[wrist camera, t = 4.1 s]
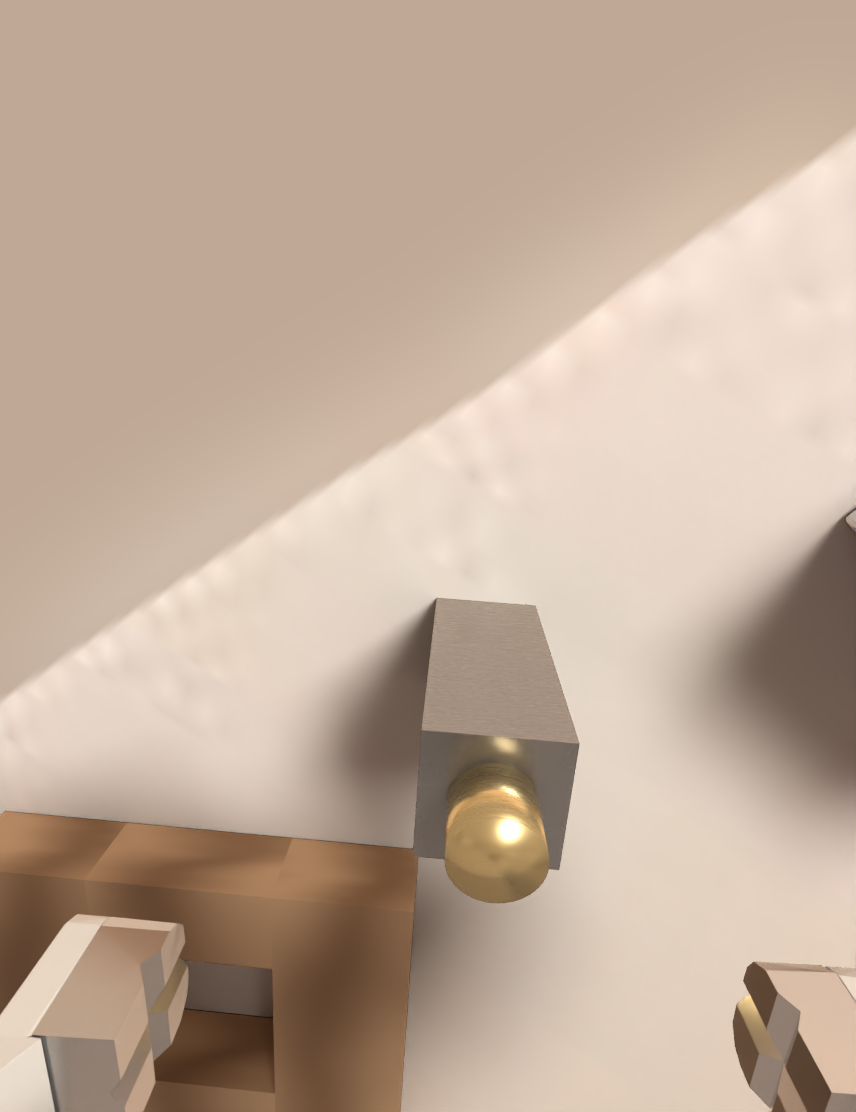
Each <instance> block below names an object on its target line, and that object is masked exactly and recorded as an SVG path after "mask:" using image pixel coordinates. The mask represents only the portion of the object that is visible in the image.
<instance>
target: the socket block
mask: <svg viewBox="0 0 856 1112" xmlns="http://www.w3.org/2000/svg"><path fill="white" fill-rule="evenodd" d="M417 869H418V857H416V856H413V849H404V848H393V847H382V846H371V845H361V844H350V843H339V842H329V841H318V840H307V839H296V838H286V837H275V836H264V835H253V834H243V833H232V832H221V831H211V830H200V829H189V828H178V827H168V826H157V825H146V824H135V823H125V822H114V821H103V820H93V819H82V818H71V817H60V816H50V815H39V814H28V813H17V812H7V811H5V812H4V813H3V814H2V815H1V816H0V1014H1V1013H2V1012H3V1010H4V1009H5V1007H6V1006H7V1005H8V1003H9V1002H10V1000H11V999H12V998H13V996H14V995H15V993H16V992H17V991H18V989H19V988H20V986H21V985H22V983H23V982H24V981H25V979H26V978H27V976H28V975H29V974H30V972H31V971H32V969H33V968H34V967H35V965H36V964H37V962H38V961H39V960H40V958H41V957H42V955H43V954H44V952H45V951H46V950H47V948H48V947H49V945H50V944H51V943H52V941H53V940H54V938H55V937H56V936H57V934H58V933H59V931H60V930H61V929H62V927H63V926H64V925H65V924H66V923H67V922H68V921H69V920H70V919H72V918H73V917H74V916H75V915H77V914H82V915H94V916H106V917H118V918H128V919H138V920H148V921H158V922H168V923H178V924H183V927H184V935H185V944H184V946H183V948H182V951H181V953H180V955H179V956H180V958H181V959H182V960H187V961H197V962H207V963H217V964H226V965H236V966H246V967H256V968H266V969H272V986H273V1018H264V1017H254V1016H245V1015H235V1014H225V1013H216V1012H206V1011H197V1010H187V1009H184V1010H183V1014H182V1018H181V1022H180V1024H179V1027H178V1029H177V1032H176V1034H175V1037H174V1039H173V1042H172V1044H171V1046H169V1047H168V1048H167V1049H166V1050H165V1051H164V1052H163V1053H162V1054H161V1055H160V1056H159V1057H157V1058H156V1059H155V1060H154V1061H153V1064H154V1073H155V1085H154V1087H153V1090H152V1092H151V1094H150V1097H149V1099H148V1101H147V1104H146V1106H145V1109H144V1111H143V1112H400V1109H401V1095H402V1081H403V1066H404V1052H405V1038H406V1024H407V1010H408V996H409V982H410V968H411V953H412V939H413V925H414V911H415V897H416V883H417Z"/></svg>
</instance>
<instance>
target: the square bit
mask: <svg viewBox="0 0 856 1112" xmlns="http://www.w3.org/2000/svg"><path fill="white" fill-rule="evenodd" d="M578 749H579V741H578V738H577V735H576V731H575V728H574V725H573V722H572V719H571V716H570V713H569V710H568V706H567V703H566V700H565V697H564V694H563V691H562V688H561V684H560V681H559V678H558V675H557V672H556V669H555V666H554V663H553V659H552V656H551V653H550V650H549V647H548V644H547V641H546V637H545V634H544V631H543V628H542V625H541V622H540V619H539V616H538V612H537V609H536V606H532V605H519V604H506V603H494V602H481V601H468V600H455V599H443V598H437V600H436V608H435V617H434V625H433V634H432V643H431V651H430V660H429V669H428V677H427V686H426V694H425V703H424V712H423V720H422V729H421V743H420V758H419V772H418V787H417V802H416V817H415V831H414V846H413V856H416V857H427V858H437V859H445V867H446V871H447V874H448V876H449V878H450V879H451V881H452V882H453V884H454V885H455V886H456V887H457V888H458V889H459V890H461V891H462V892H463V893H465V894H466V895H468V896H470V897H472V898H474V899H477V900H480V901H484V902H489V903H507V902H513V901H516V900H519V899H522V898H524V897H526V896H528V895H530V894H531V893H533V892H534V891H535V890H536V889H537V888H539V886H540V885H541V884H542V883H543V881H544V880H545V878H546V876H547V873H548V869H554V870H559V868H560V861H561V855H562V849H563V843H564V837H565V830H566V824H567V818H568V812H569V805H570V799H571V793H572V787H573V780H574V774H575V768H576V762H577V756H578Z"/></svg>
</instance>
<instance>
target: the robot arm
mask: <svg viewBox="0 0 856 1112" xmlns="http://www.w3.org/2000/svg"><path fill="white" fill-rule="evenodd" d="M184 944H185V935H184V927H183V924H178V923H168V922H158V921H148V920H138V919H128V918H118V917H106V916H94V915H82V914H77V915H75V916H74V917H73V918H72V919H70V920H69V921H68V922H67V923H66V924H65V925H64V926H63V927H62V929H61V930H60V931H59V933H58V934H57V936H56V937H55V938H54V940H53V941H52V943H51V944H50V945H49V947H48V948H47V950H46V951H45V952H44V954H43V955H42V957H41V958H40V960H39V961H38V962H37V964H36V965H35V967H34V968H33V969H32V971H31V972H30V974H29V975H28V976H27V978H26V979H25V981H24V982H23V983H22V985H21V986H20V988H19V989H18V991H17V992H16V993H15V995H14V996H13V998H12V999H11V1000H10V1002H9V1003H8V1005H7V1006H6V1007H5V1009H4V1010H3V1012H2V1013H1V1014H0V1112H143V1111H144V1109H145V1106H146V1104H147V1101H148V1099H149V1097H150V1094H151V1092H152V1090H153V1087H154V1085H155V1073H154V1064H153V1061H154V1060H155V1059H156V1058H157V1057H159V1056H160V1055H161V1054H162V1053H163V1052H164V1051H165V1050H166V1049H167V1048H168V1047H169V1046H171V1044H172V1042H173V1039H174V1037H175V1034H176V1032H177V1029H178V1027H179V1024H180V1022H181V1018H182V1014H183V1010H184V1006H185V1002H186V999H187V992H188V981H189V976H188V965H187V964H186V963H185V962H184V961H183V960H182V959H181V958H180V956H179V955H180V953H181V951H182V948H183V946H184ZM743 981H744V983H745V985H746V988H747V990H748V992H749V995H748V996H746V997H745V998H744V999H743V1000H741V1001H740V1002H739V1003H738V1004H737V1005H736V1010H735V1015H734V1019H733V1030H734V1041H735V1047H736V1051H737V1055H738V1058H739V1062H740V1065H741V1068H742V1070H743V1073H744V1075H745V1078H746V1080H747V1082H748V1085H749V1087H750V1088H751V1089H752V1090H753V1091H754V1092H755V1093H756V1094H757V1095H758V1096H759V1097H760V1099H761V1100H762V1101H763V1102H764V1103H765V1104H766V1105H767V1106H768V1107H769V1108H770V1110H769V1112H856V968H841V967H823V966H821V965H807V964H788V963H769V962H753V963H752V964H751V965H749V966H748V967H747V970H746V973H745V976H744V980H743Z"/></svg>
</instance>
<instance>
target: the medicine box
mask: <svg viewBox="0 0 856 1112" xmlns="http://www.w3.org/2000/svg"><path fill="white" fill-rule="evenodd" d="M846 522H847V523H848V524H849V525H850V527H851V528H852V529H853V530H854V531H855V532H856V510H854V511H853V512H852V513H851V514H850V515H848V516H847V518H846Z"/></svg>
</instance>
